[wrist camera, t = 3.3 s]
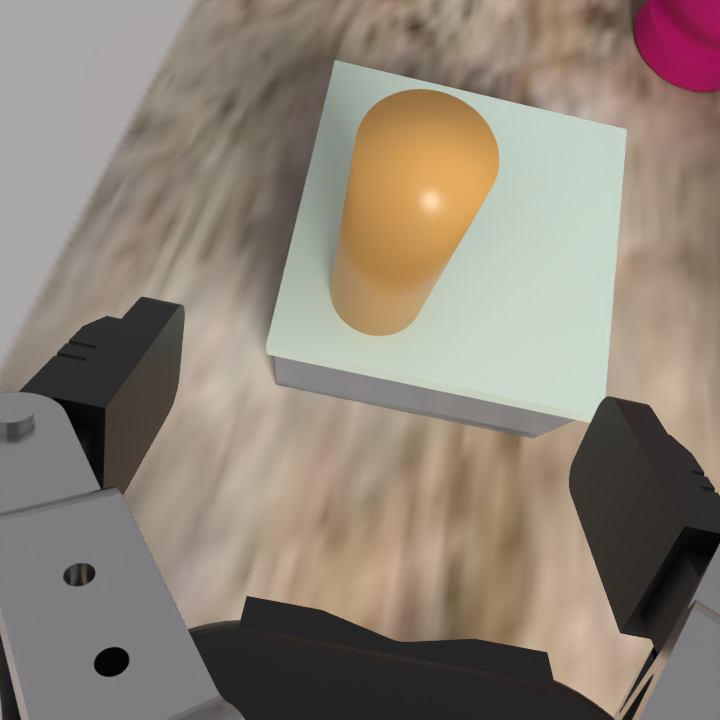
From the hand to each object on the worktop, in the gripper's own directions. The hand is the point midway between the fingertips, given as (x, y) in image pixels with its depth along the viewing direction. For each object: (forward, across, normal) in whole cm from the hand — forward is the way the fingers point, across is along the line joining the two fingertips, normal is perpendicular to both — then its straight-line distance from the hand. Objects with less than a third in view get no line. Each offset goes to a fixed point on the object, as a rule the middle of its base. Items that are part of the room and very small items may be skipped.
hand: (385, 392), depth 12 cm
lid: (+13, -2, +1) cm, 14 cm away
